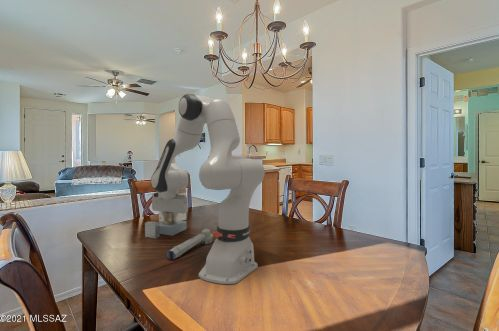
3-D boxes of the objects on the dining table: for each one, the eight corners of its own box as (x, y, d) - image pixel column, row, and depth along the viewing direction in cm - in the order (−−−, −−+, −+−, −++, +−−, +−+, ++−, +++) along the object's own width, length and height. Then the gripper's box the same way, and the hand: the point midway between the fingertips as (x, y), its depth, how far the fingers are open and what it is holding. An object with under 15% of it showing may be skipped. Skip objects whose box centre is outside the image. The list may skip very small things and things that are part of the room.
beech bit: (175, 226, 140) (175, 211, 140) (170, 228, 137) (170, 213, 136) (169, 225, 142) (169, 210, 141) (164, 227, 138) (164, 212, 138)
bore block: (172, 235, 132) (172, 227, 131) (152, 232, 136) (152, 225, 135) (186, 228, 143) (186, 221, 142) (167, 226, 147) (167, 219, 147)
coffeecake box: (179, 217, 166) (178, 186, 165) (187, 219, 162) (186, 187, 160) (158, 223, 154) (157, 189, 153) (166, 225, 150) (165, 190, 148)
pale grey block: (155, 238, 127) (155, 224, 127) (145, 237, 129) (144, 222, 129) (159, 236, 130) (159, 222, 130) (149, 235, 132) (149, 221, 132)
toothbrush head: (165, 249, 104) (205, 224, 125) (167, 265, 105) (206, 238, 126) (175, 251, 101) (214, 226, 123) (177, 267, 102) (215, 240, 124)
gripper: (190, 194, 137) (190, 220, 138) (157, 191, 145) (158, 217, 145) (183, 196, 132) (183, 223, 132) (149, 193, 139) (150, 219, 140)
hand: (170, 220), depth 139 cm, fingers closed on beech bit, 4 cm apart
